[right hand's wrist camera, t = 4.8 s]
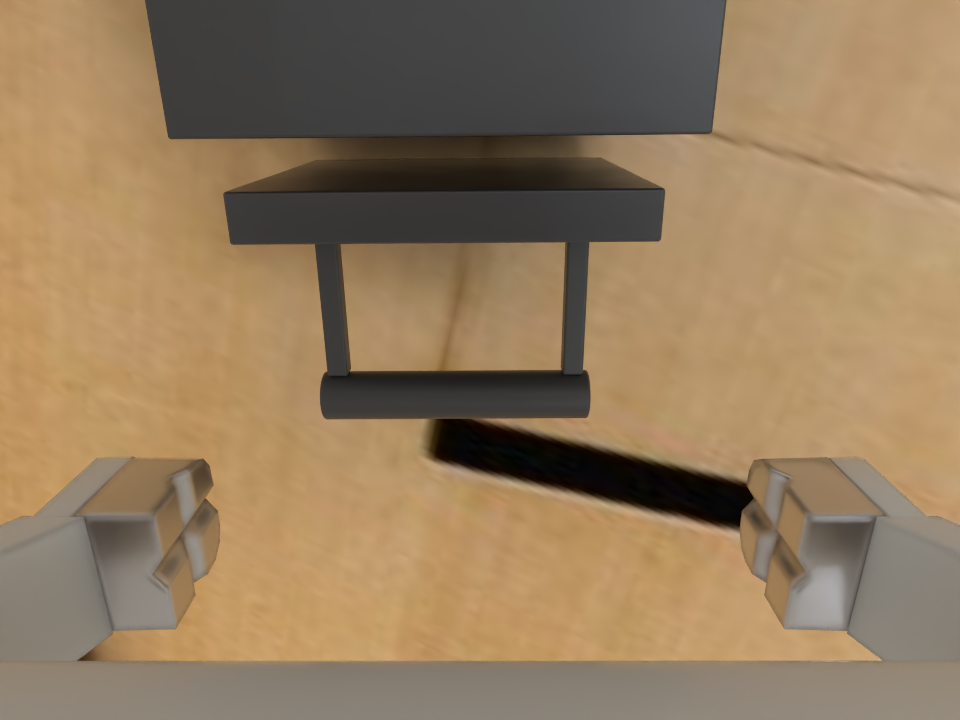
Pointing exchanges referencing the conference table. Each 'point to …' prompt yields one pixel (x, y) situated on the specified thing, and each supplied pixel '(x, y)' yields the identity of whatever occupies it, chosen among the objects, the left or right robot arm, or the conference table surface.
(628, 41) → the cabinet
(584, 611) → the conference table surface
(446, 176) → the drawer
